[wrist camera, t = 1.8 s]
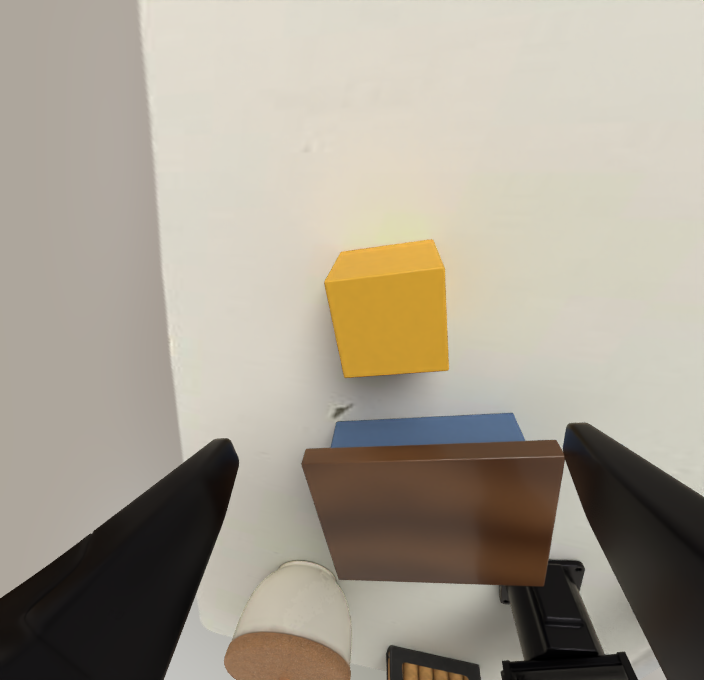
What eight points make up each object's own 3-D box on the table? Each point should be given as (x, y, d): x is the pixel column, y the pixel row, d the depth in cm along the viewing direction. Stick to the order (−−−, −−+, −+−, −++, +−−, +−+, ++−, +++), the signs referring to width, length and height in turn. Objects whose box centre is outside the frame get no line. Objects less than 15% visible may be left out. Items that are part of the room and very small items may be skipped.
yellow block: (438, 324, 20) (449, 371, 16) (354, 332, 21) (343, 378, 17) (433, 238, 18) (444, 266, 14) (340, 251, 19) (323, 281, 15)
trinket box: (255, 537, 33) (209, 664, 25) (366, 558, 33) (355, 695, 24) (256, 593, 38) (218, 713, 30) (351, 612, 38) (338, 739, 30)
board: (537, 568, 24) (544, 587, 23) (340, 563, 26) (338, 580, 25) (556, 439, 18) (566, 456, 17) (305, 448, 21) (300, 463, 20)
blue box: (507, 502, 27) (523, 554, 23) (356, 503, 29) (350, 551, 25) (513, 412, 23) (534, 459, 19) (336, 421, 25) (326, 465, 21)
